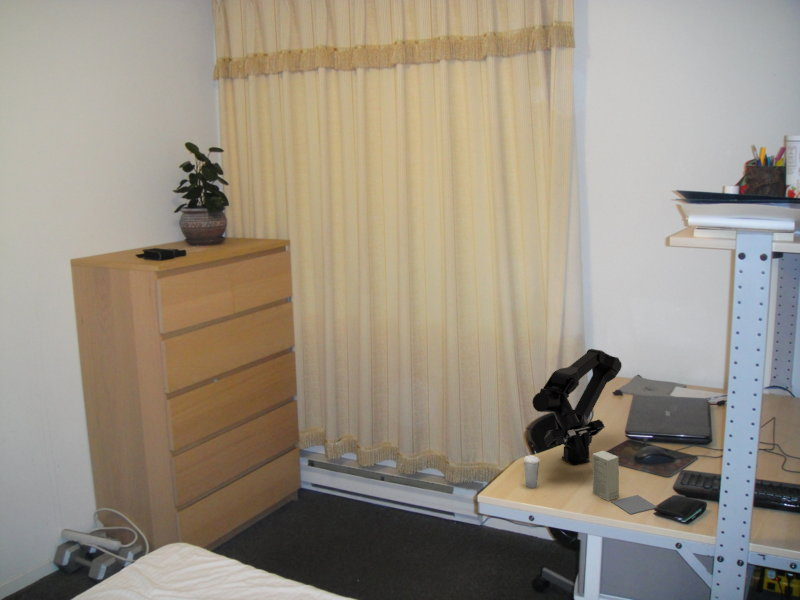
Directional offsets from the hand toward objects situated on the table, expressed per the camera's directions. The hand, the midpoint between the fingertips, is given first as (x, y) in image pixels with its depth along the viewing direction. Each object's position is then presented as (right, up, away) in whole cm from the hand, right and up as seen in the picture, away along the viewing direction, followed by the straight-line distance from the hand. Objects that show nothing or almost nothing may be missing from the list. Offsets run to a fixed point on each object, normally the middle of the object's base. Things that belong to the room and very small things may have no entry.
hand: (587, 459), depth 203 cm
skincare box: (+4, -9, -5) cm, 11 cm away
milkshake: (-15, -8, +2) cm, 18 cm away
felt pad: (+10, -10, -11) cm, 18 cm away
